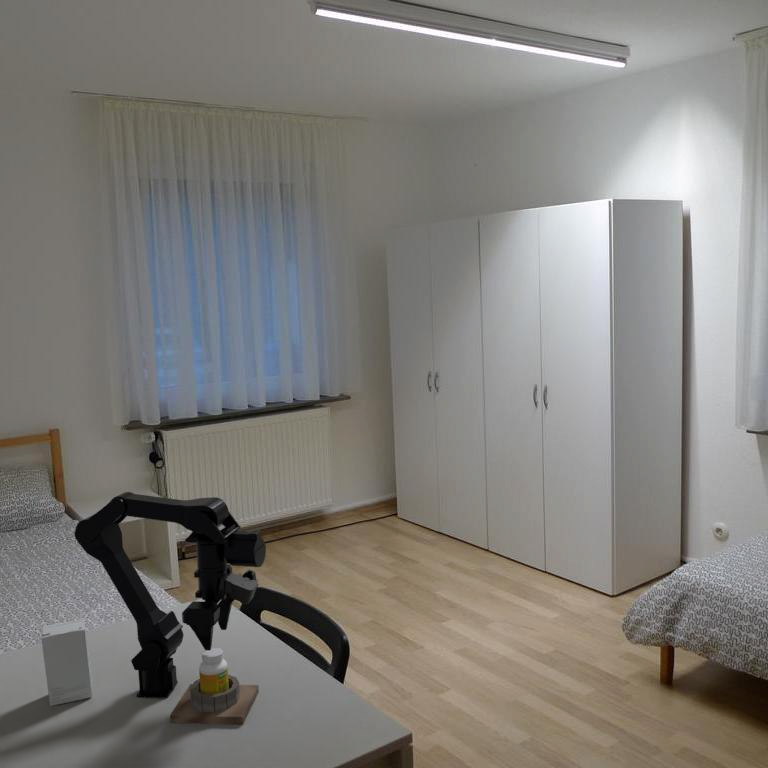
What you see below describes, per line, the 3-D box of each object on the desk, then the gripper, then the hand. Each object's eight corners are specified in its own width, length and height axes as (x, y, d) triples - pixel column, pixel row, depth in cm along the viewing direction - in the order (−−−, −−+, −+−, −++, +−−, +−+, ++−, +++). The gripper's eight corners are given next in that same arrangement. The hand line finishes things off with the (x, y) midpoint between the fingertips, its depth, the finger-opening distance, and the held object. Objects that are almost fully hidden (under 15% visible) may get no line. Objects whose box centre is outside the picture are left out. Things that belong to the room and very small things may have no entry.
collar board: (170, 722, 152) (168, 700, 152) (190, 690, 164) (189, 669, 164) (243, 724, 151) (241, 701, 151) (258, 692, 163) (257, 670, 162)
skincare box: (92, 685, 168) (86, 617, 166) (92, 699, 162) (86, 628, 160) (48, 693, 165) (42, 624, 163) (47, 707, 159) (41, 636, 157)
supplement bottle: (222, 707, 154) (219, 659, 153) (196, 705, 155) (193, 657, 154) (233, 693, 160) (230, 646, 158) (208, 691, 161) (205, 645, 159)
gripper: (237, 582, 148) (241, 663, 150) (265, 548, 166) (268, 621, 168) (178, 580, 150) (183, 660, 151) (213, 547, 168) (217, 619, 170)
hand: (216, 639), depth 160 cm, fingers open, 9 cm apart
